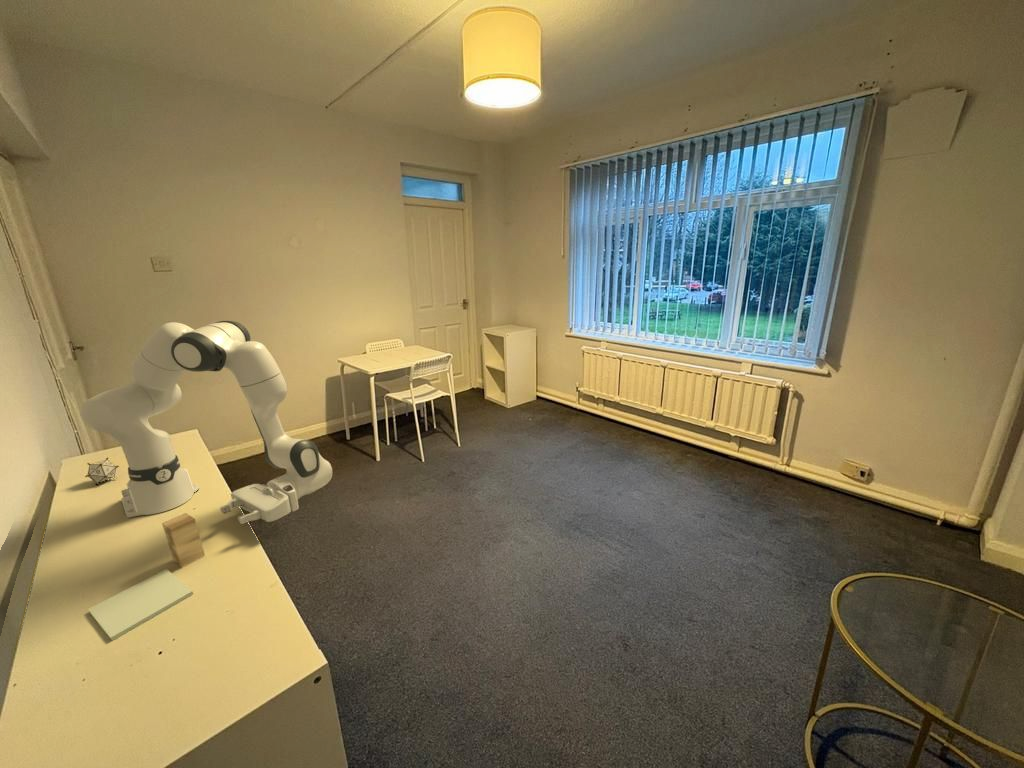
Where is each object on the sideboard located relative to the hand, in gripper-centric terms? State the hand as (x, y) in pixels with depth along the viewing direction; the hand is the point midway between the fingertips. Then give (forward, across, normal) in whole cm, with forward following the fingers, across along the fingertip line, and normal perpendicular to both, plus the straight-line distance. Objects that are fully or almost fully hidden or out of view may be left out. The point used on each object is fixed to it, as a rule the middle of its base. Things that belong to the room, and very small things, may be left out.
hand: (230, 515), depth 112 cm
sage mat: (+23, +8, +6) cm, 25 cm away
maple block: (+11, 0, +6) cm, 12 cm away
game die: (+8, -74, +6) cm, 75 cm away
